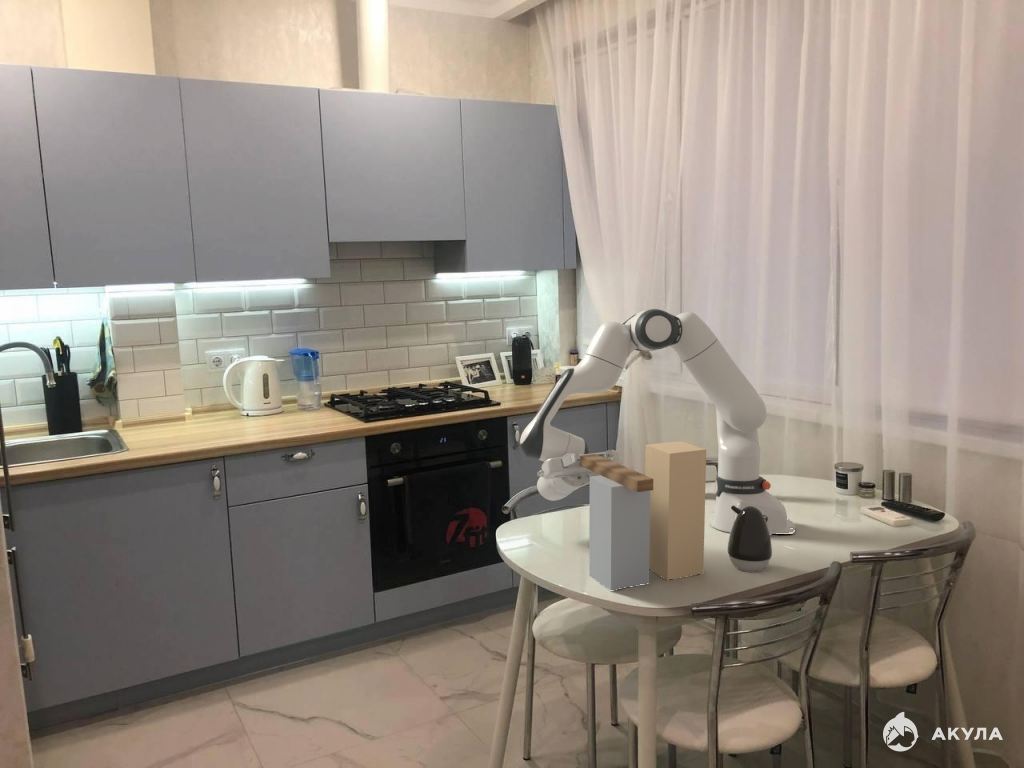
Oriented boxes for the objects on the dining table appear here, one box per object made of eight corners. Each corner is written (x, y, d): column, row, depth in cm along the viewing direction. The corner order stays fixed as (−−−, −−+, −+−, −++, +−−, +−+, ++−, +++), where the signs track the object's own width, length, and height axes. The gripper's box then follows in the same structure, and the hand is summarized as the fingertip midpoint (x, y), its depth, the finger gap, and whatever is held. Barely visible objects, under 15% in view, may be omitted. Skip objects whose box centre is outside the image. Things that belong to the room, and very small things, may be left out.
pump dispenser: (741, 557, 202) (743, 497, 200) (779, 568, 195) (781, 506, 192) (717, 567, 196) (719, 506, 194) (755, 579, 188) (757, 515, 186)
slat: (580, 465, 198) (580, 455, 198) (594, 463, 200) (594, 454, 199) (637, 492, 174) (637, 480, 174) (653, 490, 176) (653, 478, 176)
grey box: (589, 576, 191) (589, 476, 188) (626, 569, 195) (627, 471, 192) (610, 591, 182) (611, 487, 179) (648, 584, 186) (650, 482, 183)
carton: (643, 566, 197) (645, 444, 193) (678, 559, 201) (680, 440, 197) (667, 580, 188) (669, 453, 184) (703, 573, 192) (706, 449, 187)
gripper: (531, 464, 204) (552, 446, 192) (603, 455, 212) (627, 438, 200) (537, 488, 202) (558, 472, 190) (609, 479, 210) (633, 462, 198)
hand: (594, 454), depth 195 cm, fingers open, 8 cm apart
